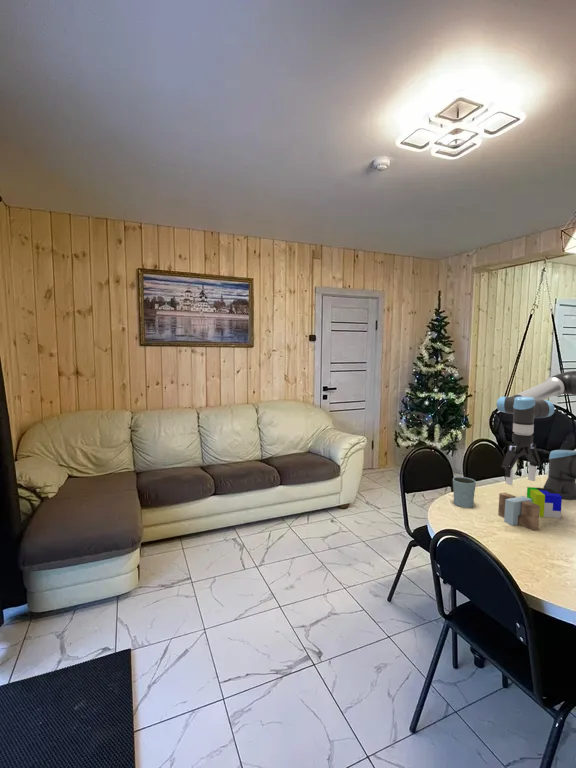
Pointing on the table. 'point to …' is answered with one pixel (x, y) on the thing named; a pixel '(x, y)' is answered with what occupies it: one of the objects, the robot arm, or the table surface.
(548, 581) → the table surface
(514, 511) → the grey arch block
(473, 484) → the grey cup
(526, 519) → the walnut upright
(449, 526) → the table surface
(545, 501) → the puzzle toy
